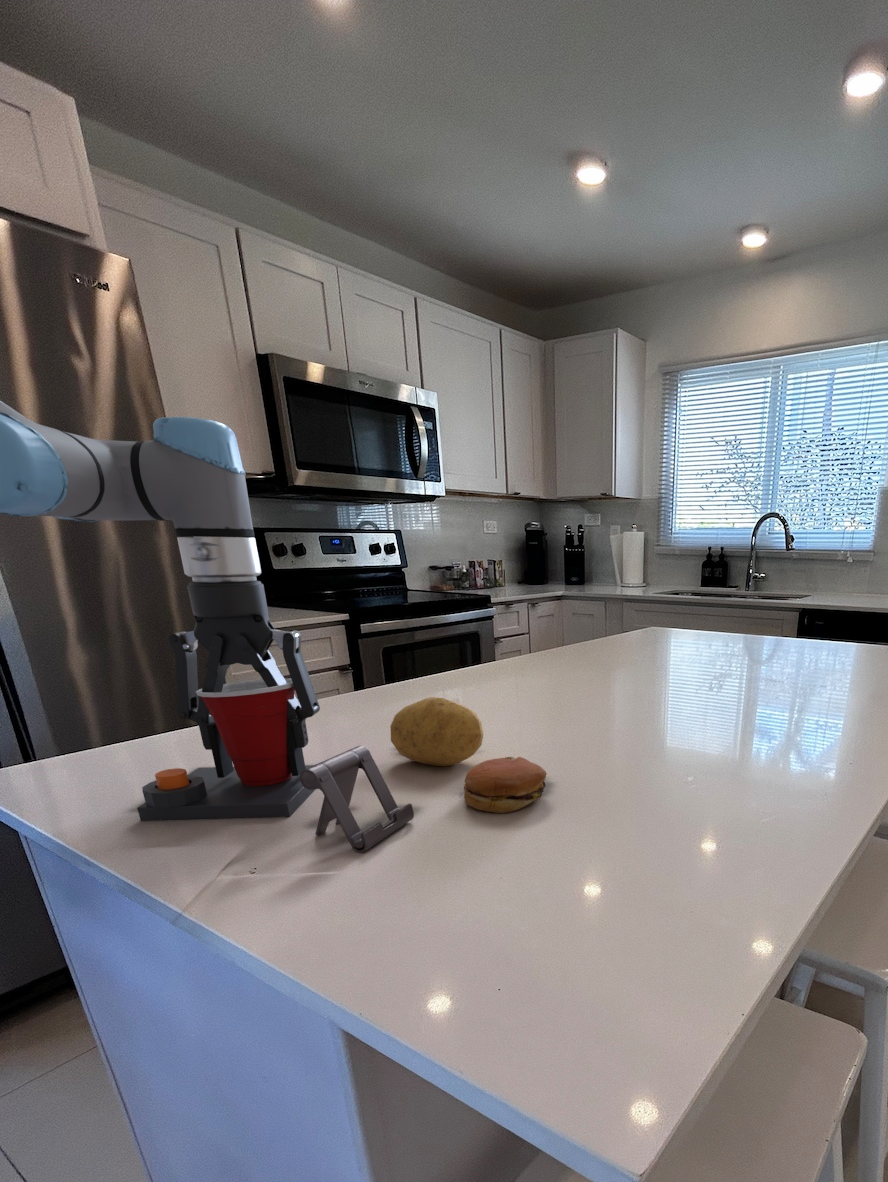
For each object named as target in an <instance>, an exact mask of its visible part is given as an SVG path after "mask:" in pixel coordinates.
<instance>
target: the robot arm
mask: <svg viewBox="0 0 888 1182" xmlns="http://www.w3.org/2000/svg"><path fill="white" fill-rule="evenodd" d="M152 429H153V434H152V437H153V439H152V440H151V439H150V440H149V439H148V440H140V441H135V440H133V441H131V440H111V439H95V438H90V437H86V436H83V435H78V434H76V433H72V432H67V431H63V430H60V429H57V428H54V427H50V426H46V425H43V424H39V423H37V422H34V421H33V420H31V419H29V418H28V417H26V416H24V415H23V414H21V413H20V412H18V411H17V410H16V409H13V408H12V407H11V406H9V405H8V404H6V403H5V402H3V401H2V400H0V514H3V515H8V516H12V517H53V518H56V519H59V520H71V521H76V522H89V523H95V522H99V521H118V522H119V521H120V522H121V521H159V522H161V521H164V522H165V521H166V522H167V521H172V524H173V527H174V531H175V536H176V538H177V544H178V550H179V553H180V558H181V563H182V568H183V573H184V575H185V576H187V577H190V578H191V579H192V581H189V582H188V585H186V589H187V592H188V597H189V602H190V606H191V611H192V614H193V617H194V619H195V624H194V628H193V630H191V631H183V630H182V631H178V632H174V633H170V634H169V635H168V642H169V644H170V647H171V649H172V652H173V655H174V659H175V660H174V662H175V664H174V665H175V666H174V667H175V683H176V684H175V685H176V702H177V703H176V705H177V716H178V718H179V719H181V720H184V721H185V720H188V721H192V722H195V724H197V725H198V728H199V733H200V737H201V741H202V746H203V748H204V749H205V750H206V751H207V750H209V751H211V754H212V757H213V763H214V767H215V768H216V772H217V777H218V778H224V777H226V776H227V775H229V774H230V773H231V772H233V771H234V769H233V767H234V765H233V762H232V760H231V758H230V757H229V755H228V753H227V750H226V748H225V745H224V743H223V741H222V738H221V736H220V733H219V731H218V728H217V726H216V724H215V721H214V719H213V716H212V715H211V714H210V712H209V709H208V707H206V704H205V702H204V701H203V699H202V698H201V696H198V695H197V693H196V691H198V690H199V680H198V656H197V655H198V654H197V649H198V647H199V644H198V643H200V644H201V645H202V646H203V648H204V649H206V651H207V652H208V655H207V660H206V665H205V669H206V671H205V676H204V679H203V683H202V684H203V685H202V688H201V689H202V692H205V693H218V692H222V688H223V684H225V679H226V676H227V673H228V669H229V668H230V666H232V665H235V664H240V665H245V666H250V665H251V667H252V668H253V669H254V671H255V672H257V673H258V674H259V676H260V677H261V678H262V679H261V680H264V682H265V683H266V685H267V686H268V687H274V686H279V685H284V684H287V682H286V681H285V679H286V678H285V677H284V676H283V673H282V672H281V671H280V670H279V668H278V666H277V662H276V660H275V658H274V657H273V655H272V653H271V651H270V650H269V649H270V647H271V645H272V643H273V641H275V642H276V643H277V646H278V648H279V650H281V651H282V655H283V659H284V662H285V666H286V668H287V671H288V674H289V676H290V679H292V682H293V685H294V688H295V695H294V699H292V700H290V699H287V700H288V701H287V718H288V719H289V721H287V722H288V723H287V724H286V746H287V751H288V757H289V762H290V768H291V774H292V776H299V775H300V773H301V771H303V770H304V769H306V768H305V766H306V763H305V757H304V750H303V748H306V746H307V745H308V744H309V733H308V729H307V722H306V720H307V719H308V718H312V717H314V716H315V715H316V714H317V713H319V712H320V711H321V706H320V704H319V701H318V698H317V697H318V696H317V694H316V691H315V688H314V686H313V682H312V680H311V676H310V674H309V671H308V668H307V665H306V662H305V659H304V656H303V653H302V635H301V632H300V631H298V630H290V631H288V630H287V631H286V630H282V629H281V630H280V629H276V628H275V627H274V625H273V624H272V622H271V620H270V618H269V617H270V616H269V609H268V602H267V598H266V591H265V586H264V585H265V584H264V583H262V580H261V581H260V580H258V579H257V577H258V576H260V575H261V574H262V568H261V562H260V557H259V552H258V547H257V541H256V538H255V536H256V535H255V531H254V528H253V527H254V526H253V520H252V513H251V507H250V500H249V494H248V487H247V481H246V476H247V474H246V471H245V470H244V466H243V461H242V458H241V453H240V448H239V445H238V440H237V436H236V435H235V432H234V431H233V430H232V429H231V427H230V426H228V425H227V424H224V423H222V422H220V421H216V420H213V419H206V418H200V417H199V418H198V417H190V416H170V417H167V416H166V417H159V418H156V419H155V420H154V422H153V423H152Z"/></svg>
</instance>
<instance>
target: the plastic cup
mask: <svg viewBox="0 0 888 1182" xmlns="http://www.w3.org/2000/svg"><path fill="white" fill-rule="evenodd" d="M284 679H285V681H286V682H287V684H284V685H279V686H274V687H268V686H267V685H266V683H265V682H264V680H263V679H254V680H244V681H238V682H237V681H236V682H229V683H224V684H223V688H222V692H218V693H205V692H202V688H198V691H196V693H197V695H198V697H200V696H201V698H202V699H203V701H204V702H205V704H206V707H208V709H209V712H210V714H211V715H212V716H213V719H214V721H215V724H216V726H217V728H218V731H219V733H220V736H221V738H222V741H223V743H224V745H225V748H226V750H227V753H228V755H229V757H230V758H231V760H232V764H233V767H234V768H235V770H236V773H237V775H238V778H240V780H241V782H242V783H243V784H244V785H249V786H264V785H272V784H276V783H280V782H283V781H286V780H288V779H289V778H291V775H292V774H291V768H290V762H289V757H288V751H287V746H286V724H287V723H288V722H287V721H289V719H288V718H287V701H288V700H287V699H290V700H292V699H294V695H295V696H296V691H295V688H294V685H293V682H292V679H291V678H284Z"/></svg>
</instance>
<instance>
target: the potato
mask: <svg viewBox="0 0 888 1182" xmlns="http://www.w3.org/2000/svg"><path fill="white" fill-rule="evenodd" d="M393 717H394V718H392V721H391V723H390V742H391V743H392V745H393V746H394V748H395V749H396V751H397V752H398V754H399V755H401V756H403V757H404V758H406V759H408V760H410V761H414V762H417V763H420V764H425V765H429V766H435V767H451V766H454V765H457V764H459V763H461V762H462V763H463V762H464V761H466V760H468V759H470V758H471V757H473V756H474V755H475V754H476V753H477V751H478V750H479V749H480V748H481V746H482V745H483V739H484V731H483V725H482V724H483V723H482V721H481V720H480V718H479V716H478V715H477V713H476V712H474V711H473V710H472V709H470V708H469V707H468V706H465V705H463V704H460V703H458V702H455V701H452V700H449V699H446V698H444V697H433V696H431V697H427V698H424V699H421V700H419V701H415V702H413V703H411V704H408V705H406V706H404V707H403V708H401V709H400V710H399V711H398V712H397V713H395V715H394V716H393Z"/></svg>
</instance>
